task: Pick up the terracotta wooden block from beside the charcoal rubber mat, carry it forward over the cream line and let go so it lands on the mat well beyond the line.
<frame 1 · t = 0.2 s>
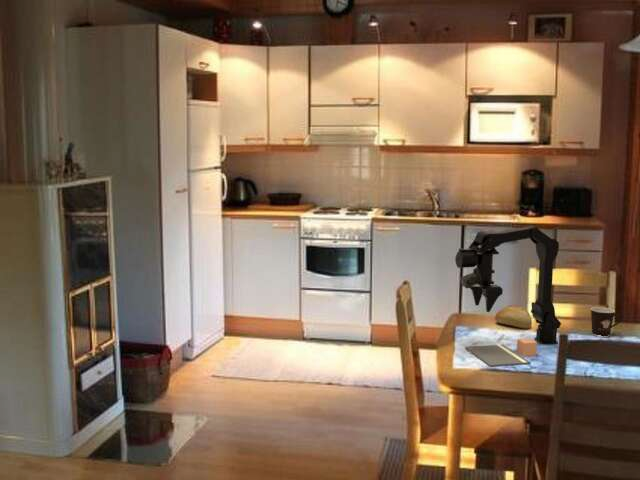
hand: (482, 308, 264), 14 cm above the table, fingers open, 9 cm apart
terracotta block: (526, 354, 259), on the table
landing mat: (496, 355, 256), on the table
bread roll: (513, 326, 294), on the table
coffee mug: (604, 335, 283), on the table
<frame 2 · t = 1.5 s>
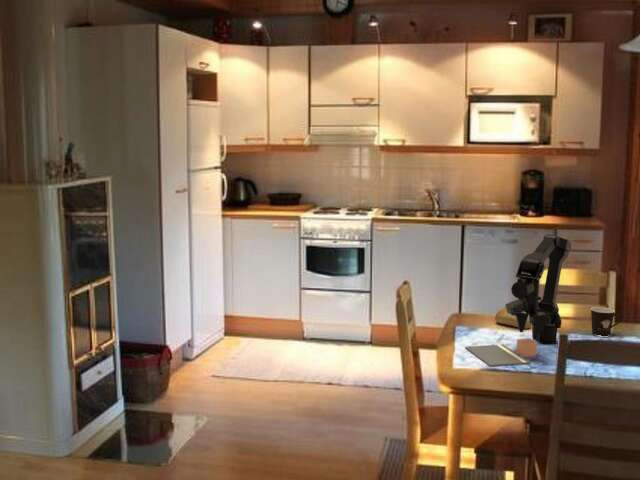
hand: (527, 335, 258), 7 cm above the table, fingers open, 9 cm apart
nothing on the table moved.
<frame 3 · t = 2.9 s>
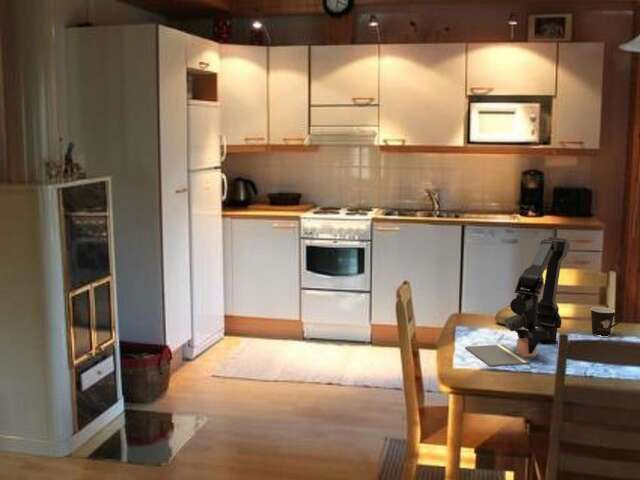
hand: (526, 351, 258), 1 cm above the table, fingers closed on terracotta block, 5 cm apart
terracotta block: (526, 354, 259), on the table, touching gripper
everything else where it was.
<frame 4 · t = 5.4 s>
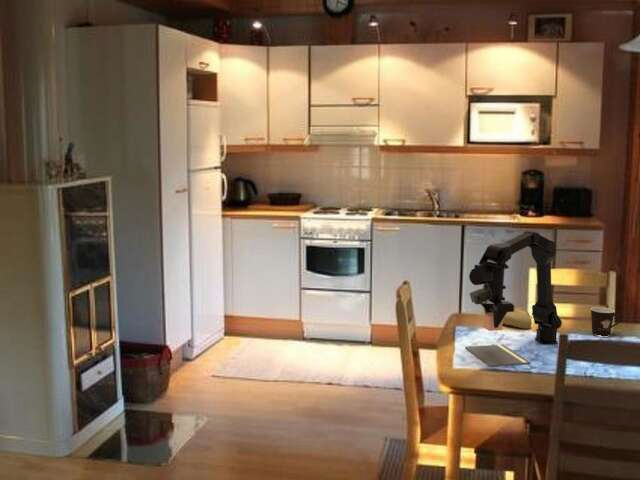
hand: (492, 325, 253), 11 cm above the table, fingers closed on terracotta block, 5 cm apart
terracotta block: (492, 328, 253), point 10 cm above the table, touching gripper
everything else where it was.
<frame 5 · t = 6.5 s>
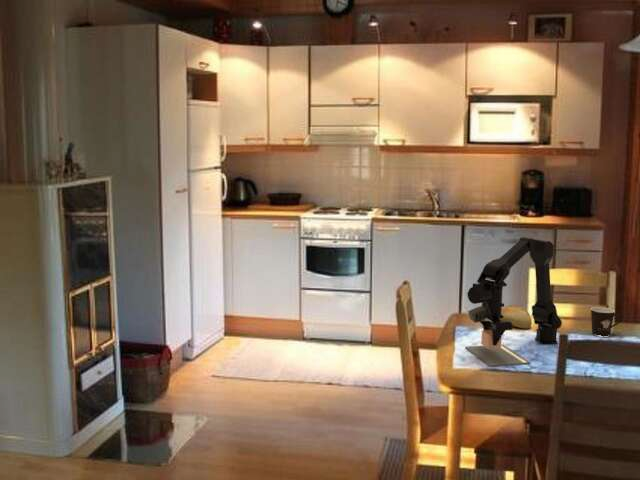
hand: (491, 342, 255), 5 cm above the table, fingers closed on terracotta block, 5 cm apart
terracotta block: (490, 345, 255), point 4 cm above the table, touching gripper
everything else where it was.
when the fingers open (3 cm above the table, at t = 7.7 s): terracotta block drops 1 cm, resting on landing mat.
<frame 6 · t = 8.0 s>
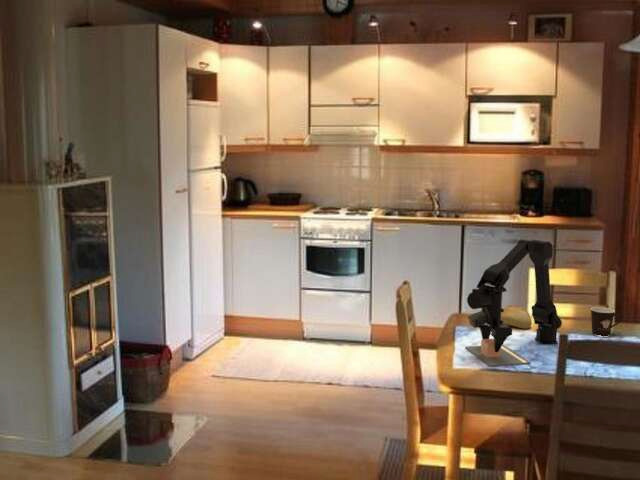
hand: (490, 348, 255), 3 cm above the table, fingers open, 8 cm apart
terracotta block: (490, 354, 255), point 1 cm above the table, touching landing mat
everything else where it was.
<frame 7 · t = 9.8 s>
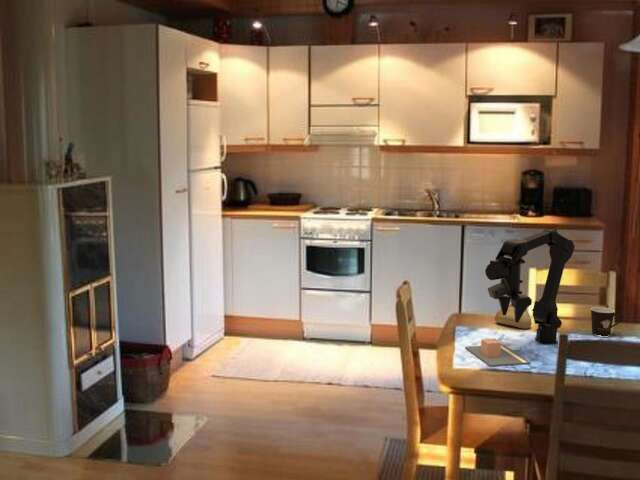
hand: (510, 318, 262), 11 cm above the table, fingers open, 9 cm apart
nothing on the table moved.
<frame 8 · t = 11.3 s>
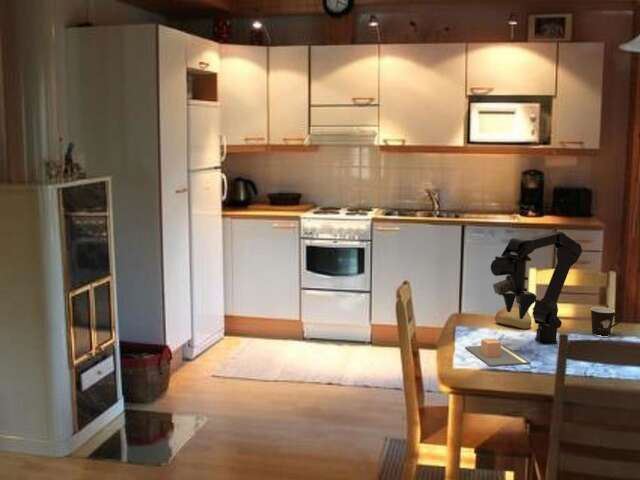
hand: (514, 315, 264), 12 cm above the table, fingers open, 9 cm apart
nothing on the table moved.
at the end: terracotta block inside the target area (0.8 cm from its centre), point 0.6 cm above the table; terracotta block tilted 0°; the gripper is holding nothing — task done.
